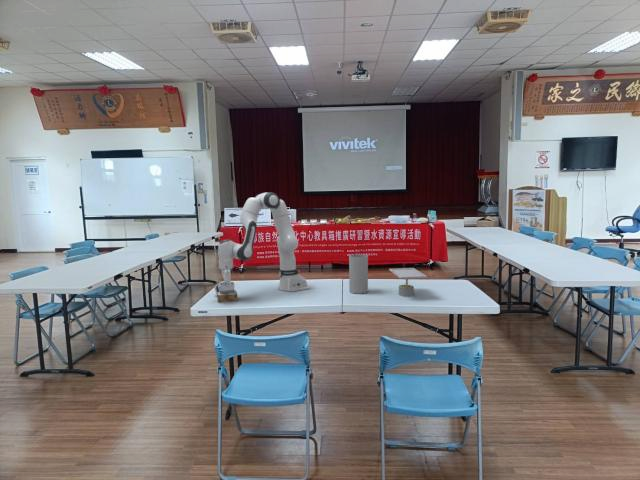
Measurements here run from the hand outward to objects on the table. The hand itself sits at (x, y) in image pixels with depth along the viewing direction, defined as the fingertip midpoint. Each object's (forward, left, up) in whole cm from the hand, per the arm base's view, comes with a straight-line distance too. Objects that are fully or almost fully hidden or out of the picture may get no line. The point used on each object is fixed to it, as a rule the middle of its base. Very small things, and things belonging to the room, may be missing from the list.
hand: (226, 286), depth 278 cm
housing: (0, 0, -4) cm, 4 cm away
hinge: (+1, -17, -10) cm, 19 cm away
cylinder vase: (-87, +10, -9) cm, 88 cm away
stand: (0, 0, -9) cm, 9 cm away
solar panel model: (-114, +28, -9) cm, 118 cm away
